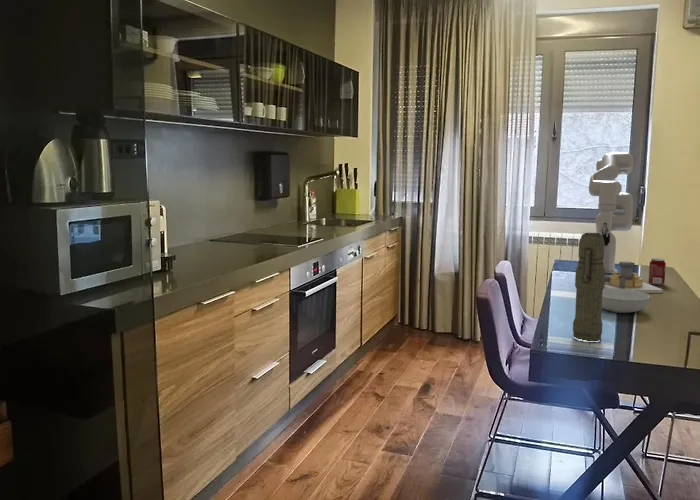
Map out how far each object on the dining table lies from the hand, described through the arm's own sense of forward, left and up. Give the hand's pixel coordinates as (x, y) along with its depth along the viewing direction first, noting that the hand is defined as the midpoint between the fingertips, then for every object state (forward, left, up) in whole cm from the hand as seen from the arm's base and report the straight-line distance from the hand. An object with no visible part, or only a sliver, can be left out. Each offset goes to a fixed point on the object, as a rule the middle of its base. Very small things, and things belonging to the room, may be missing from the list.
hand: (605, 244), depth 278 cm
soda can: (0, +25, -20) cm, 32 cm away
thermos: (+87, -43, -20) cm, 99 cm away
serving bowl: (+49, -15, -20) cm, 55 cm away
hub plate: (+7, +7, -19) cm, 22 cm away
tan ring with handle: (+6, +2, -18) cm, 19 cm away
